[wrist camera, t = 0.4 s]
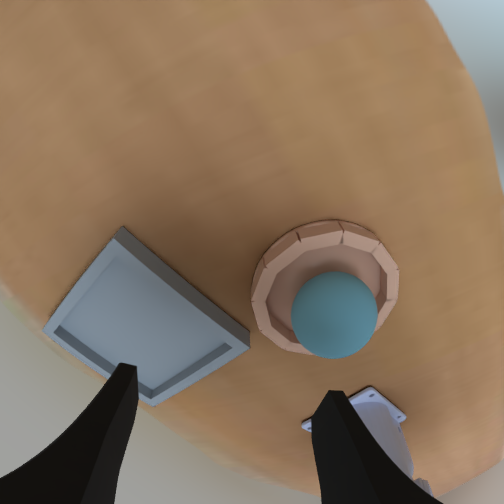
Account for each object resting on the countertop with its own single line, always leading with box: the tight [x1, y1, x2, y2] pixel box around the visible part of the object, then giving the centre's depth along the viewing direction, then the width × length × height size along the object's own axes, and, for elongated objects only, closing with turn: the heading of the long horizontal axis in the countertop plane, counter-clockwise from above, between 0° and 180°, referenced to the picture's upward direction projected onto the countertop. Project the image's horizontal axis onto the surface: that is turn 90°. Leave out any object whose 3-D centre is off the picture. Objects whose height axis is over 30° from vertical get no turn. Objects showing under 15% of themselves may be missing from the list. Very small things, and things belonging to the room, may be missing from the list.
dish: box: [251, 220, 399, 355], centre depth 20 cm, size 9×9×2 cm
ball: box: [291, 271, 378, 359], centre depth 18 cm, size 5×5×5 cm
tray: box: [42, 226, 250, 407], centre depth 21 cm, size 11×11×2 cm
